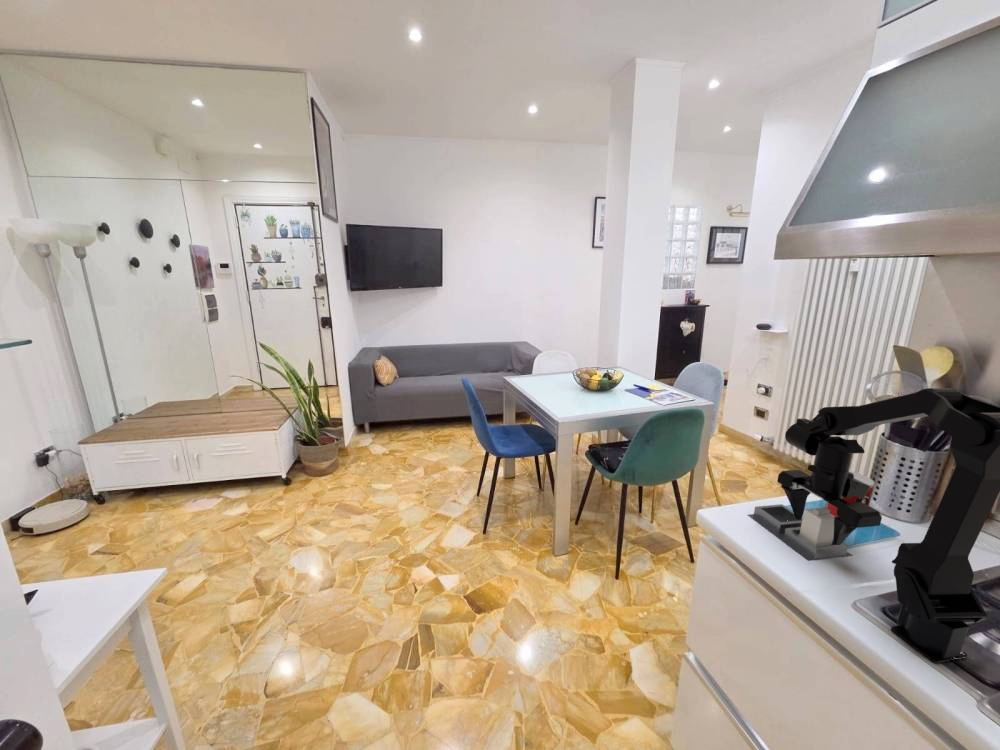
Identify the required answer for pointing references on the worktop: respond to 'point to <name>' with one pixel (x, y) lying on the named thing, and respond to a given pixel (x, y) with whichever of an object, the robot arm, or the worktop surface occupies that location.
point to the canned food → (854, 498)
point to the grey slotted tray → (794, 533)
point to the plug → (818, 527)
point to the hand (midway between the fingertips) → (816, 531)
